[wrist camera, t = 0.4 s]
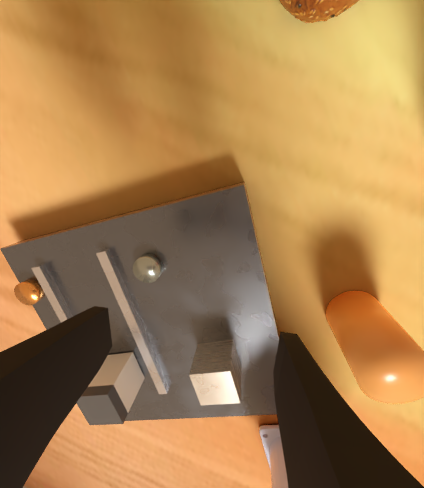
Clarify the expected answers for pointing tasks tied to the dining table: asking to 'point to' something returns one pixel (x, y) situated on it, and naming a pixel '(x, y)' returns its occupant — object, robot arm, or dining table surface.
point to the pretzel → (316, 8)
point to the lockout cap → (377, 348)
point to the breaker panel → (168, 300)
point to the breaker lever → (112, 390)
